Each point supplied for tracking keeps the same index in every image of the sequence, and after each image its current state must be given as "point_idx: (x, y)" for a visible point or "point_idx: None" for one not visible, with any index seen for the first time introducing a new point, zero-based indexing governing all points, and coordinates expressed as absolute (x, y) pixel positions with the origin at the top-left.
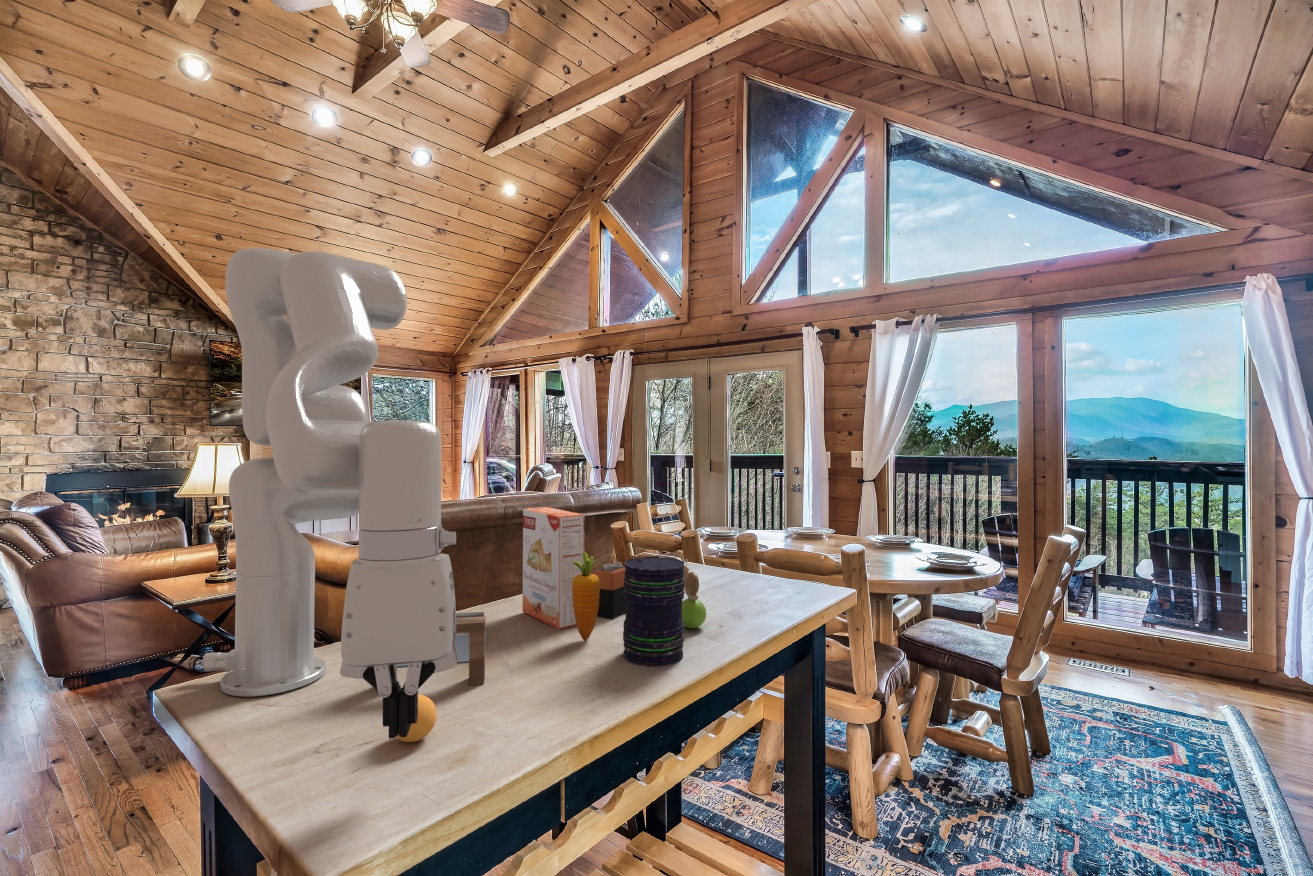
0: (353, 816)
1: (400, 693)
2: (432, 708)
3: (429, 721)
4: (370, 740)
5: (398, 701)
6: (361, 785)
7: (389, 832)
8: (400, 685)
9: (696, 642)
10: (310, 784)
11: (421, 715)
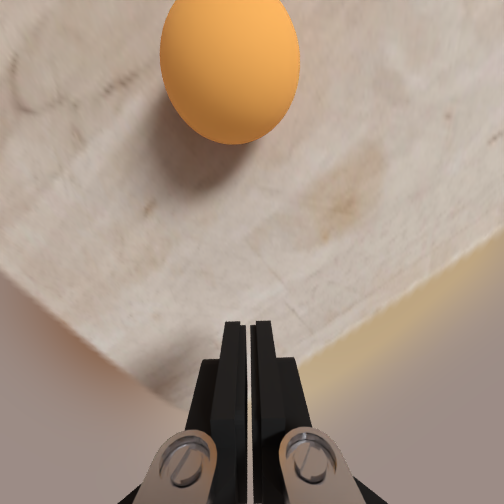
0: (195, 340)
1: (245, 442)
2: (293, 77)
3: (283, 116)
4: (127, 69)
5: (246, 456)
6: (178, 263)
7: None
8: (234, 424)
9: None
10: (83, 245)
11: (264, 124)
